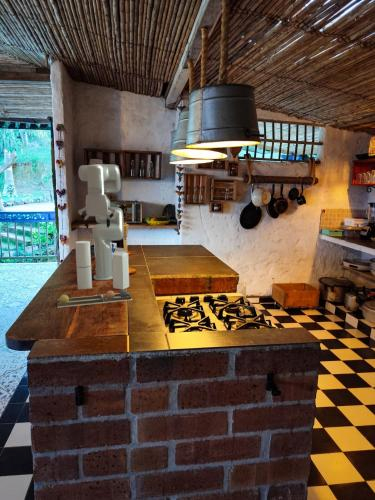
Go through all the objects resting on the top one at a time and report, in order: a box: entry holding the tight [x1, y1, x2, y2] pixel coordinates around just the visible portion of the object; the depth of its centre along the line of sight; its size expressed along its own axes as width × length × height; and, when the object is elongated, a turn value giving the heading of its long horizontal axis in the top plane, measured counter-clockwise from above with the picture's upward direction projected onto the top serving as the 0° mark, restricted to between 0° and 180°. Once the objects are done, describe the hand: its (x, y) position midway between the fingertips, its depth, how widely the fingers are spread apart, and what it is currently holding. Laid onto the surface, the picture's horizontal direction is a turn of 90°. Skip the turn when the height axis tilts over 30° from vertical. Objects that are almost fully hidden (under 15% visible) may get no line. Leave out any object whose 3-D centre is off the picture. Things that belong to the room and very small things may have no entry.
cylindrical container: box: [74, 240, 93, 290], centre depth 181 cm, size 7×7×25 cm
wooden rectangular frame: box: [102, 292, 132, 303], centre depth 166 cm, size 6×12×1 cm, turn 109°
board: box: [56, 292, 133, 309], centre depth 164 cm, size 12×33×2 cm, turn 109°
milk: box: [112, 247, 130, 290], centre depth 182 cm, size 6×6×22 cm
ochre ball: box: [59, 294, 70, 303], centre depth 158 cm, size 4×4×4 cm
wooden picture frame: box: [56, 294, 103, 307], centre depth 160 cm, size 6×20×1 cm, turn 109°
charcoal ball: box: [119, 288, 129, 297], centre depth 166 cm, size 4×4×4 cm
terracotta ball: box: [105, 290, 116, 298], centre depth 164 cm, size 4×4×4 cm
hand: (97, 227), depth 170 cm, fingers open, 9 cm apart
